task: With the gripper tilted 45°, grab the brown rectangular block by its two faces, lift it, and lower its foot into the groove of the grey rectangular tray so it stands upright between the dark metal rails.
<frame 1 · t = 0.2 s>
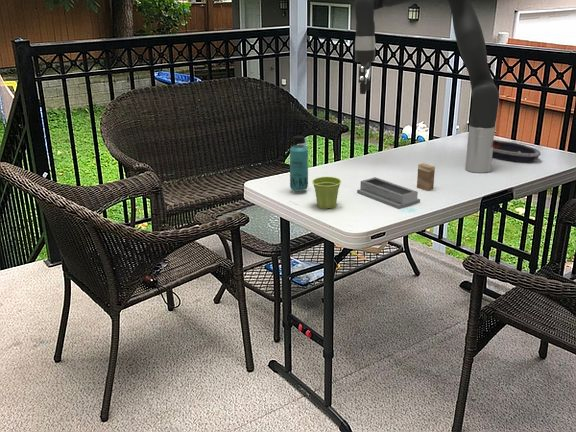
hand: (364, 92, 229), 29 cm above the table, tool pointing down, fingers open, 8 cm apart
dish: (503, 156, 248), on the table
brown rectangular block: (424, 188, 211), on the table
beverage bottle: (299, 192, 210), on the table
grey rectangular tray: (387, 197, 203), on the table
plant pot: (326, 206, 197), on the table
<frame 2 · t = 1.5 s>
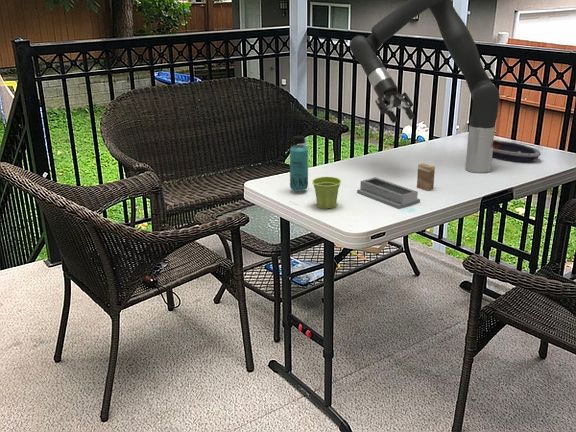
hand: (404, 119, 212), 23 cm above the table, tool tilted 45°, fingers open, 8 cm apart
nothing on the table moved.
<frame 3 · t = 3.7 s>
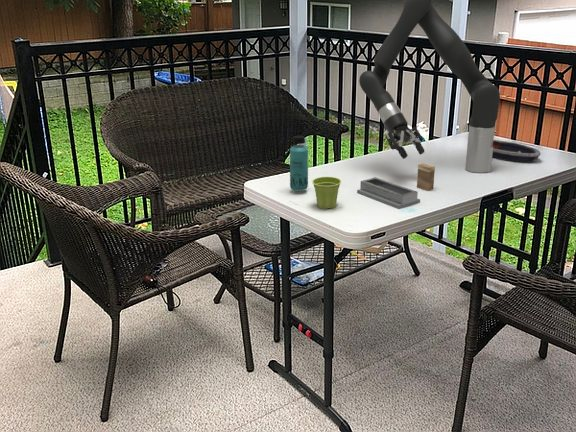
hand: (414, 155, 212), 11 cm above the table, tool tilted 45°, fingers open, 8 cm apart
nothing on the table moved.
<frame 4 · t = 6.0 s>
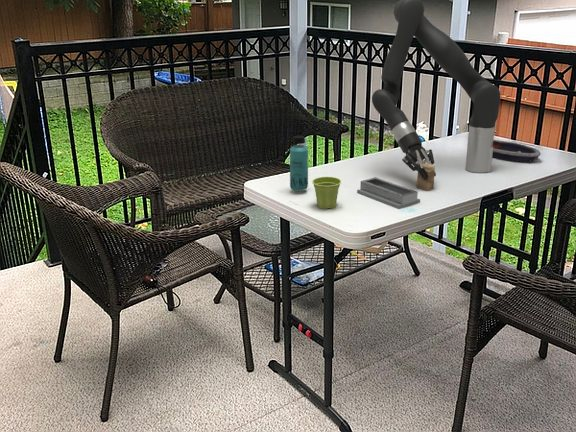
hand: (430, 177, 208), 4 cm above the table, tool tilted 45°, fingers closed on brown rectangular block, 3 cm apart
brown rectangular block: (425, 188, 211), on the table, touching gripper
everything else where it was.
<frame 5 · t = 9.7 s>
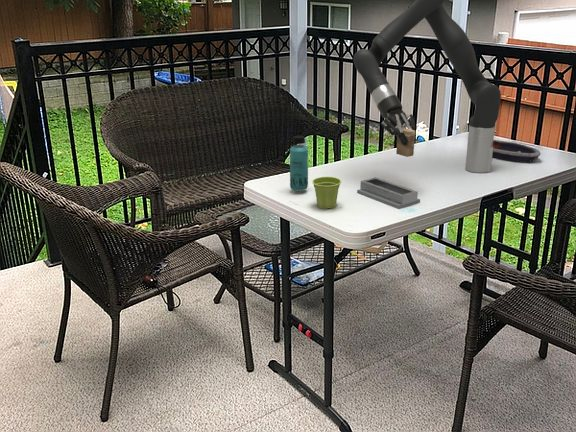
hand: (410, 142, 199), 18 cm above the table, tool tilted 45°, fingers closed on brown rectangular block, 3 cm apart
brown rectangular block: (404, 154, 202), point 14 cm above the table, touching gripper
everything else where it was.
when the fingers open (6 cm above the table, at t = 13.4 s): brown rectangular block stays where it is, resting on grey rectangular tray.
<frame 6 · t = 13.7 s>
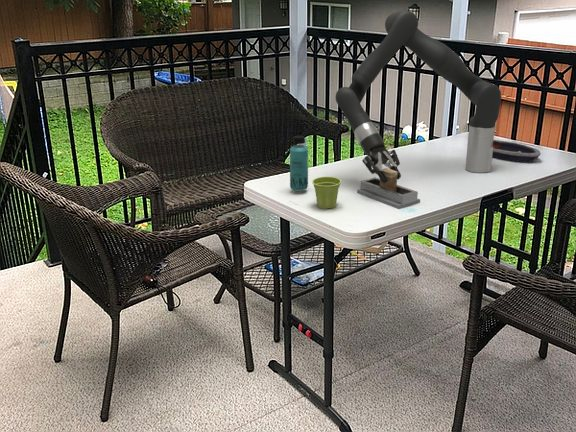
hand: (392, 180, 199), 7 cm above the table, tool tilted 45°, fingers open, 5 cm apart
brown rectangular block: (387, 194, 203), point 1 cm above the table, touching grey rectangular tray
everything else where it was.
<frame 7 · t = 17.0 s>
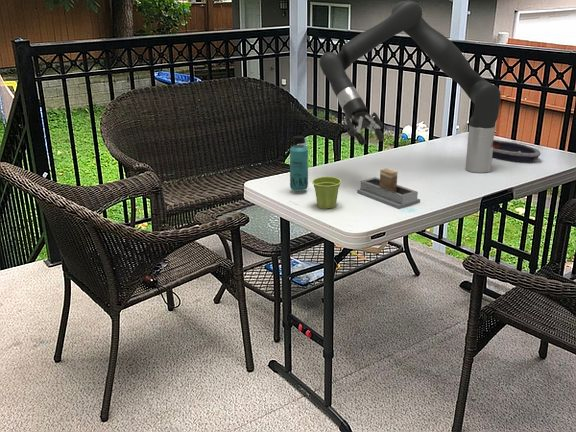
hand: (373, 142, 204), 17 cm above the table, tool tilted 45°, fingers open, 8 cm apart
nothing on the table moved.
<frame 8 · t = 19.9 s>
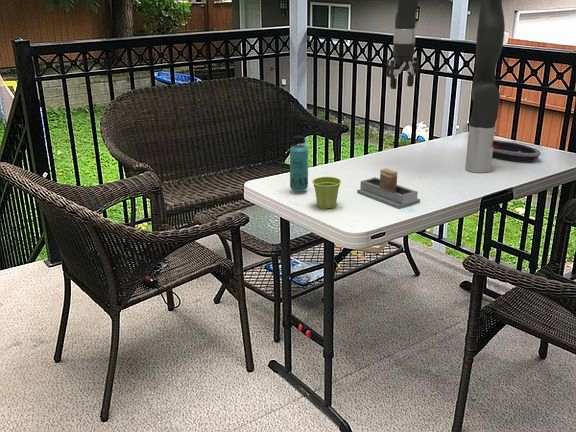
hand: (401, 87, 218), 32 cm above the table, tool pointing down, fingers open, 8 cm apart
nothing on the table moved.
at the end: brown rectangular block inside the target area on the grey rectangular tray (0.1 cm from its centre), point 1.0 cm above the grey rectangular tray's base; brown rectangular block tilted 0°; the gripper is holding nothing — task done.
